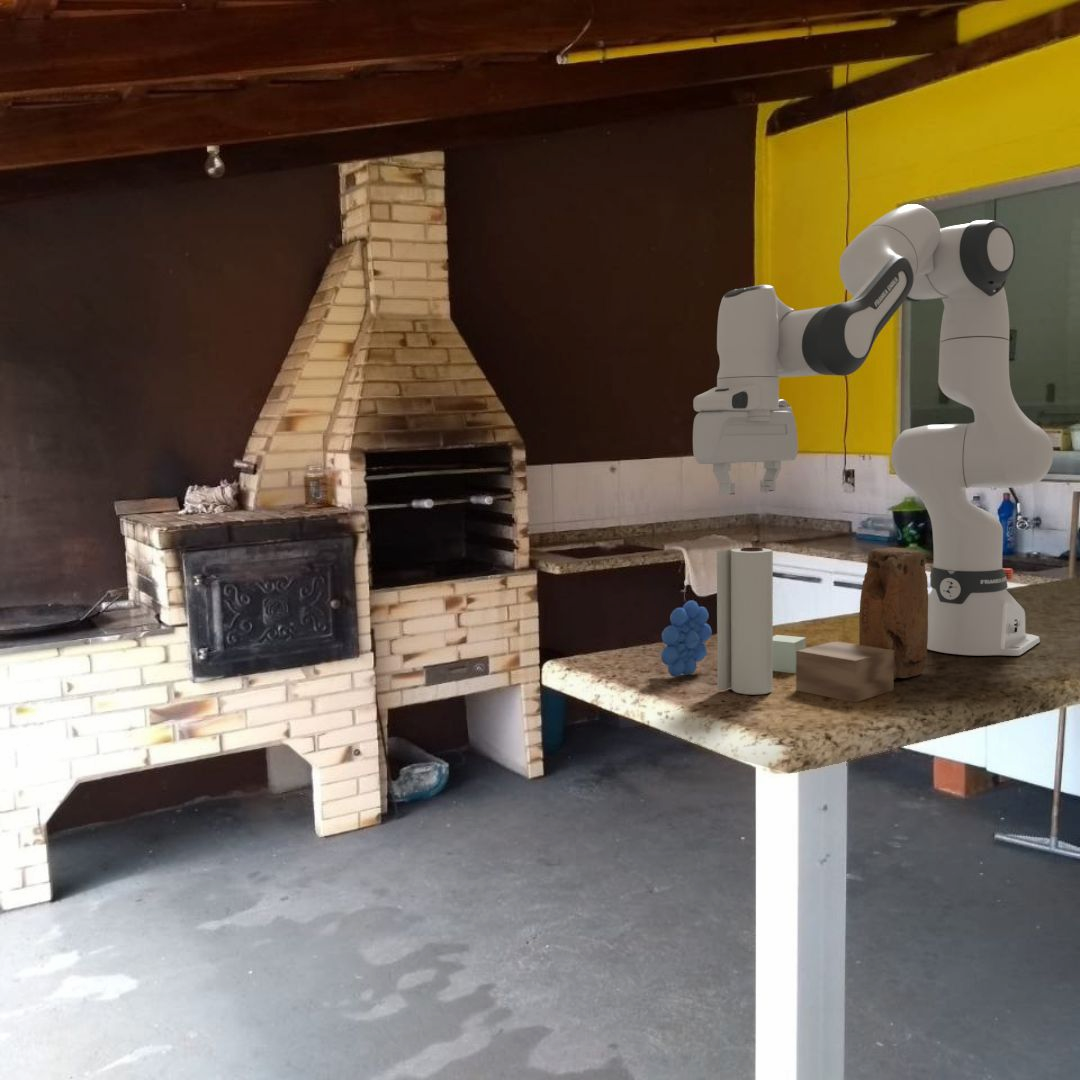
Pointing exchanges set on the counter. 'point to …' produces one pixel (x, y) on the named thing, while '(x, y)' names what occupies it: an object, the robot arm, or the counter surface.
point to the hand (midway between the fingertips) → (747, 493)
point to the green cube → (786, 652)
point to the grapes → (685, 639)
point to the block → (896, 607)
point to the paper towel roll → (745, 620)
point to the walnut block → (845, 671)
